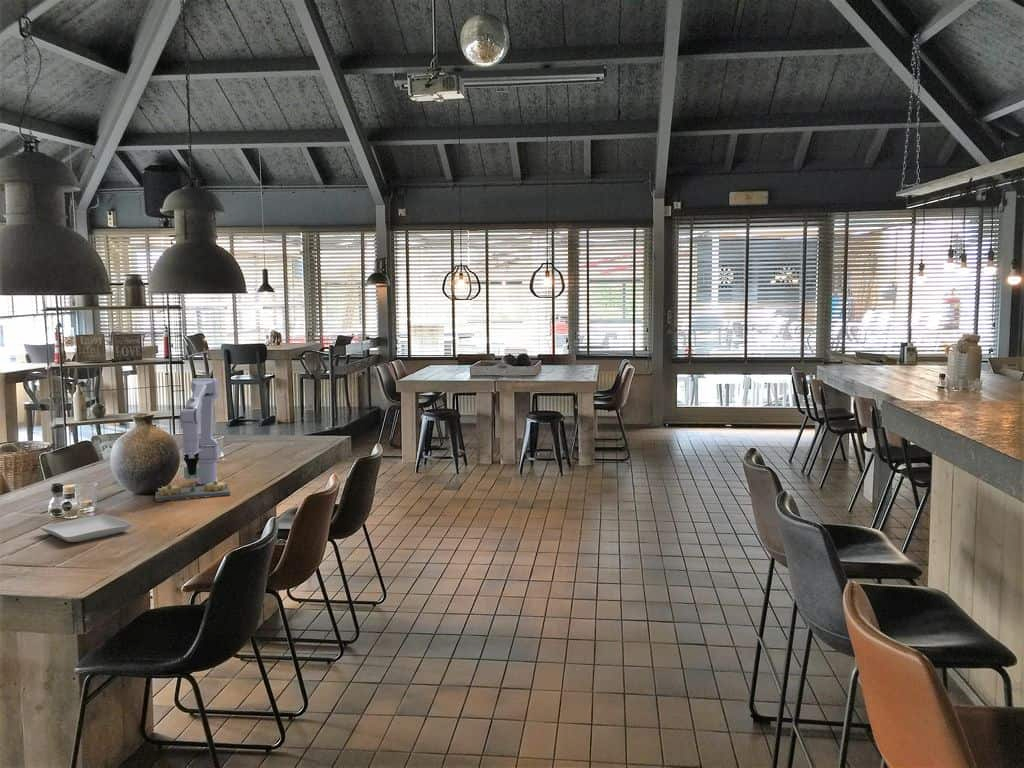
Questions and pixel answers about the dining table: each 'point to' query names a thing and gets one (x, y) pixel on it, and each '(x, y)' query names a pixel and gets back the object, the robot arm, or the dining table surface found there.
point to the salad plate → (87, 528)
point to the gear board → (192, 491)
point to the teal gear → (187, 476)
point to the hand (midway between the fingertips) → (192, 473)
